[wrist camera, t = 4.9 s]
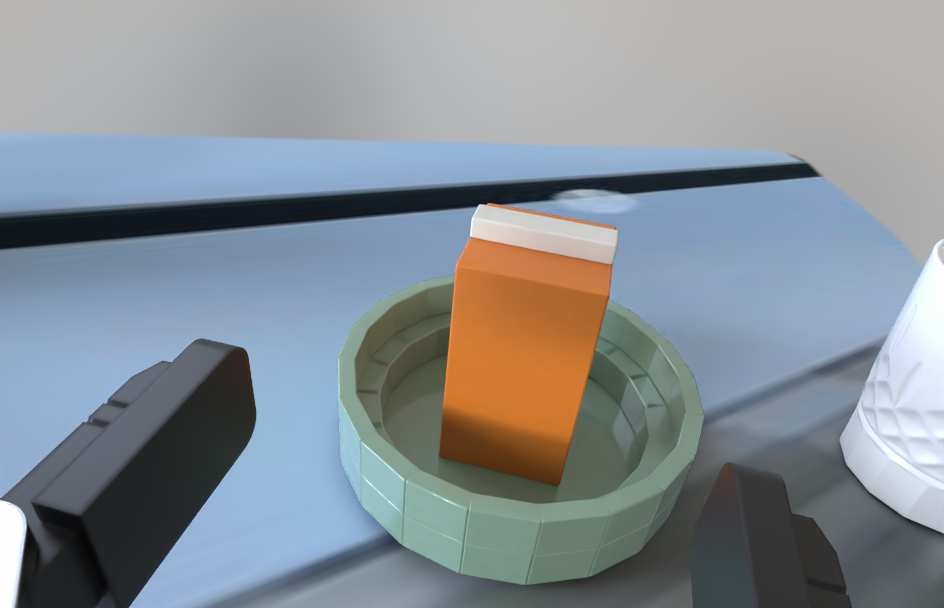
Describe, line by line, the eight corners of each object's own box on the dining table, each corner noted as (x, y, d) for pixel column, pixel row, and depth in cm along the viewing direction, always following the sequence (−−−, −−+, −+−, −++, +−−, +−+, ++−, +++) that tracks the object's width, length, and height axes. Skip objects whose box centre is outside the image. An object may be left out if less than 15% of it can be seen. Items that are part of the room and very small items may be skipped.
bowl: (271, 426, 27) (262, 353, 24) (494, 303, 36) (502, 242, 34) (532, 684, 19) (554, 614, 17) (731, 446, 28) (762, 380, 26)
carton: (438, 456, 26) (457, 243, 20) (467, 379, 30) (490, 182, 24) (559, 487, 25) (615, 274, 19) (572, 403, 29) (621, 207, 23)
